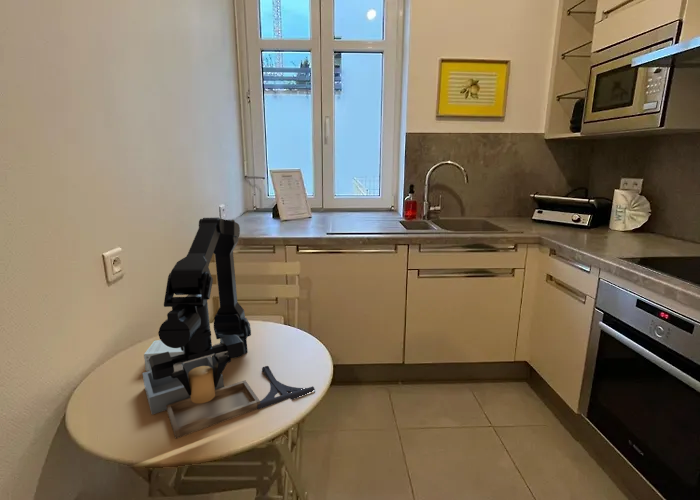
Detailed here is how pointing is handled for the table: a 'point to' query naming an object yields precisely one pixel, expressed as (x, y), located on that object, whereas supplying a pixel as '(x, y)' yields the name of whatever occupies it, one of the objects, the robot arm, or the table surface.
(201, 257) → the robot arm
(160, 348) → the skincare box
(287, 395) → the bracket
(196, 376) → the tan cylinder
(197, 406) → the walnut tray
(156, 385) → the grey storage bin
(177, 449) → the table surface
